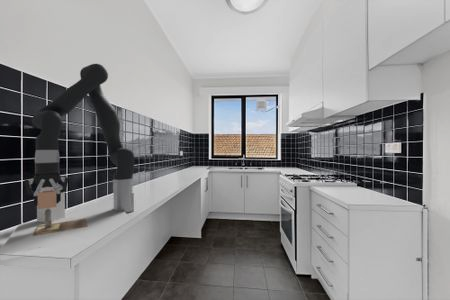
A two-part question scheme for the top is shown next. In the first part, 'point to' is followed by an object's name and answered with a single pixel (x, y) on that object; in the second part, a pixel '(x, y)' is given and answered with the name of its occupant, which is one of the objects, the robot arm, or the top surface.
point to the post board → (58, 225)
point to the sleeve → (47, 199)
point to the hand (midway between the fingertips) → (47, 204)
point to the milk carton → (56, 211)
